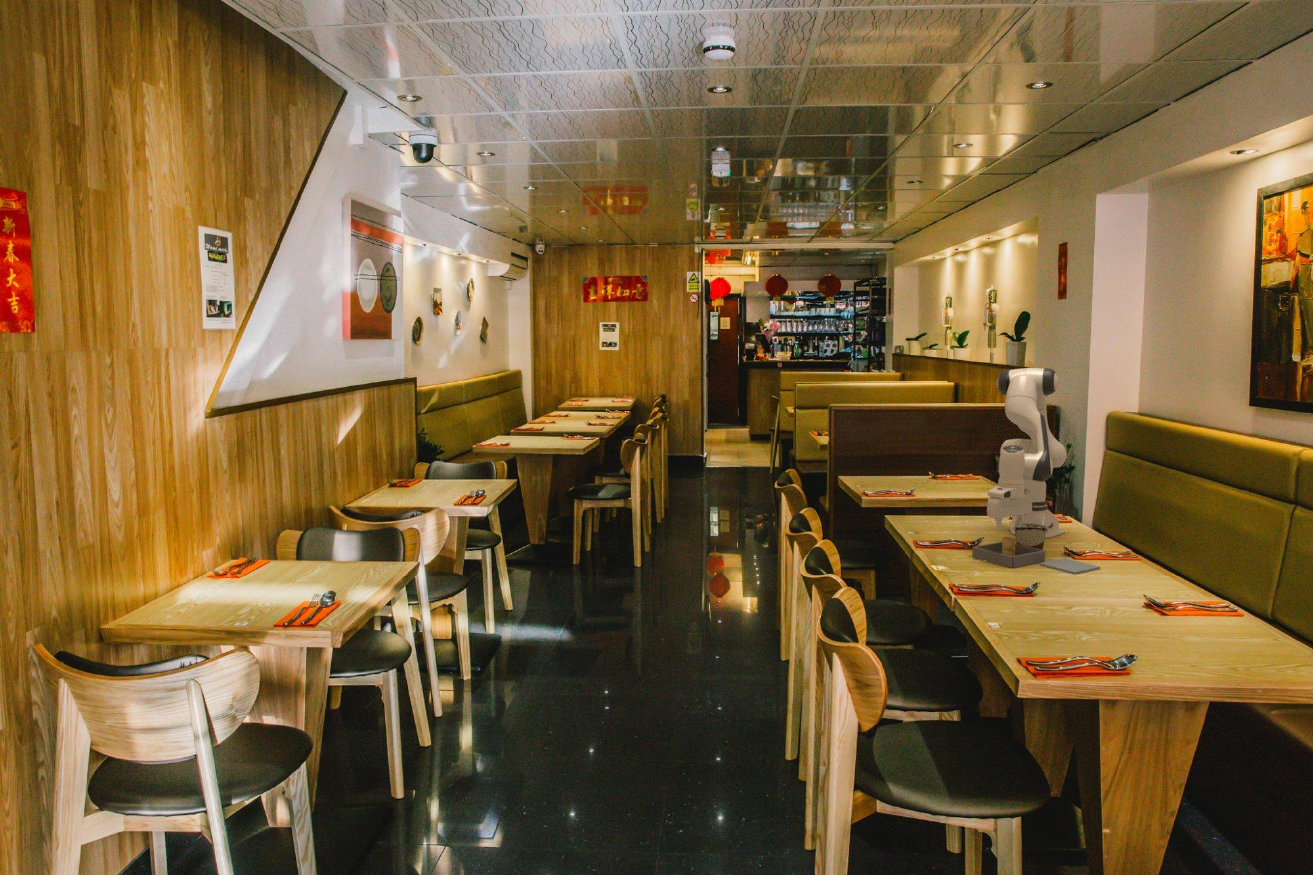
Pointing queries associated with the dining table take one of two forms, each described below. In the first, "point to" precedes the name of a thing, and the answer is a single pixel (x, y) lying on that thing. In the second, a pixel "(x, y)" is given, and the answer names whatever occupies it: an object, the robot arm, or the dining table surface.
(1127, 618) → the dining table surface
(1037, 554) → the frame
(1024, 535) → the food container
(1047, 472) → the robot arm
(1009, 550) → the peg
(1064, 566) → the mat
